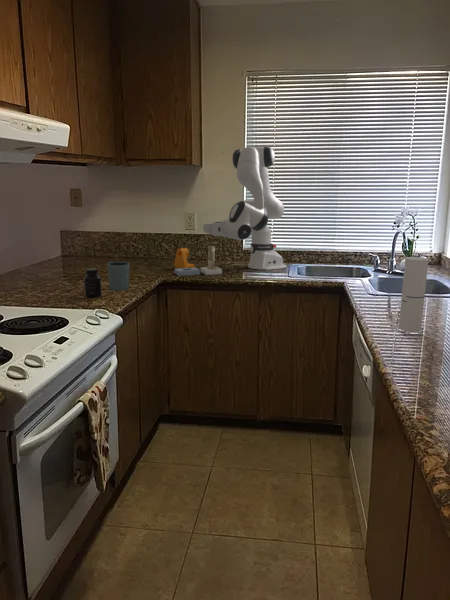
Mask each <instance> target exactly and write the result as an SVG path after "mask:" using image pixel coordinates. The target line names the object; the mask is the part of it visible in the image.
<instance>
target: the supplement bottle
mask: <svg viewBox="0 0 450 600" xmlns="http://www.w3.org/2000/svg"><path fill="white" fill-rule="evenodd" d="M85 273H86V275H85V276H84V278H83V281H84V282H83V283H84V293H85V297H86V298H89V299H95V298H96V299H97V298H101V296H102V294H103V293H102V282H101V280H102V279H101V276H100V275H99V274H98V273H99V272H98V268H96V267H95V268H93V267H91V268H87V269H85Z"/></svg>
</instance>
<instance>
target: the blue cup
mask: <svg viewBox="0 0 450 600" xmlns="http://www.w3.org/2000/svg"><path fill="white" fill-rule="evenodd" d="M106 265H107V274H108V275H107V276H108V285H109V290H111V291H115V292H116V291H121V292H122V291H126V290H129V283H130V262H127V261H111V262H110V261H109V262H108V263H107V264H106Z"/></svg>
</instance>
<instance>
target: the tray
mask: <svg viewBox="0 0 450 600" xmlns="http://www.w3.org/2000/svg"><path fill="white" fill-rule="evenodd" d="M200 274H203V275H205V276H211V275H212V276H214V275H222V274H223V269H222V268H221V267H220V268H219V267H218V266H215V270H208V266H205V267H200Z"/></svg>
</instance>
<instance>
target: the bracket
mask: <svg viewBox="0 0 450 600" xmlns="http://www.w3.org/2000/svg"><path fill="white" fill-rule="evenodd" d="M189 255H190V250H189V249H188V248H187V247H182V248H177V250H176V253H175V260H174V264H173V265H174V266H173V267H174V268H175V269H177V268H195V267H196V264H194V263H189V262H188V258H189Z"/></svg>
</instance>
